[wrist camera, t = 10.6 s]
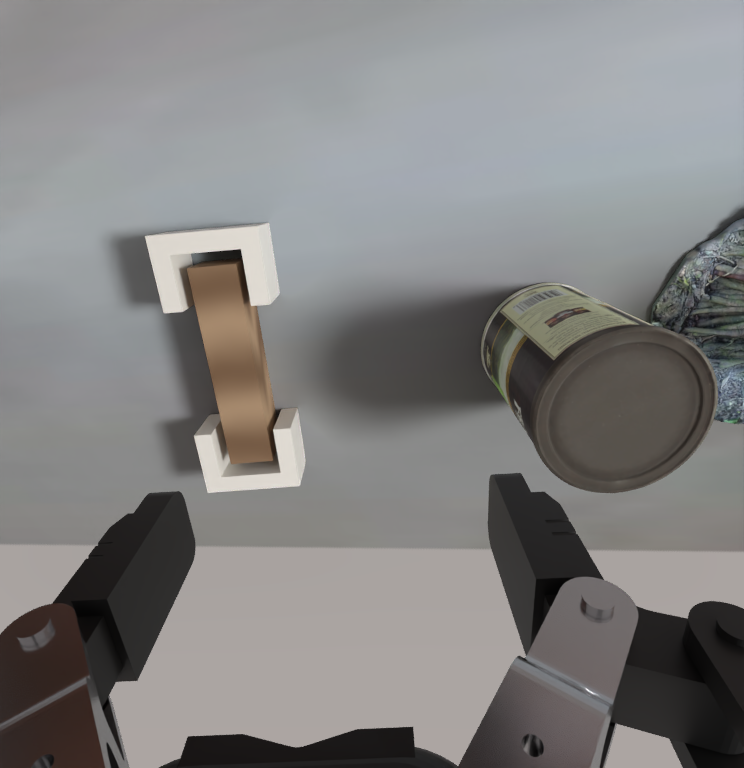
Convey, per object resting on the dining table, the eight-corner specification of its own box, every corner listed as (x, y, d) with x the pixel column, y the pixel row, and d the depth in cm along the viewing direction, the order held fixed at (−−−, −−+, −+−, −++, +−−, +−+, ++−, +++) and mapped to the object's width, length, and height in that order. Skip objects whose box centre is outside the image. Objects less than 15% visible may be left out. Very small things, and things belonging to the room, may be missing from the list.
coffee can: (538, 422, 43) (612, 523, 30) (454, 350, 40) (495, 426, 27) (631, 337, 40) (757, 407, 27) (547, 254, 38) (641, 286, 24)
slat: (204, 261, 38) (186, 268, 34) (248, 257, 38) (235, 263, 34) (242, 441, 44) (230, 464, 40) (281, 438, 44) (272, 460, 40)
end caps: (167, 231, 37) (144, 236, 33) (269, 222, 37) (257, 226, 33) (221, 467, 44) (207, 492, 41) (305, 461, 44) (299, 486, 41)
